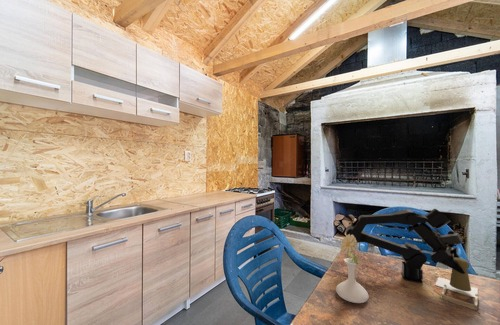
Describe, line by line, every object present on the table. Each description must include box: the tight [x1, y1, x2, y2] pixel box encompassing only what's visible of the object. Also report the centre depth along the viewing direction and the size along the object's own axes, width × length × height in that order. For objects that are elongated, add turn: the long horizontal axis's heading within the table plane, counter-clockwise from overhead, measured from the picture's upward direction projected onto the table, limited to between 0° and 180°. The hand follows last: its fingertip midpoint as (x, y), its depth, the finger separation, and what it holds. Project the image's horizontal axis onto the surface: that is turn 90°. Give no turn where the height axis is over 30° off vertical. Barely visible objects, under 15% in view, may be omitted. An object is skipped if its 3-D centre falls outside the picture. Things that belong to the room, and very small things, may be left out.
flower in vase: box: [335, 234, 369, 304], centre depth 81 cm, size 13×11×25 cm
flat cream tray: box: [440, 285, 479, 311], centre depth 79 cm, size 9×9×2 cm
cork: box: [449, 257, 471, 291], centre depth 83 cm, size 6×6×11 cm
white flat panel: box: [434, 276, 479, 299], centre depth 87 cm, size 9×12×1 cm
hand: (465, 271), depth 82 cm, fingers closed on cork, 5 cm apart
